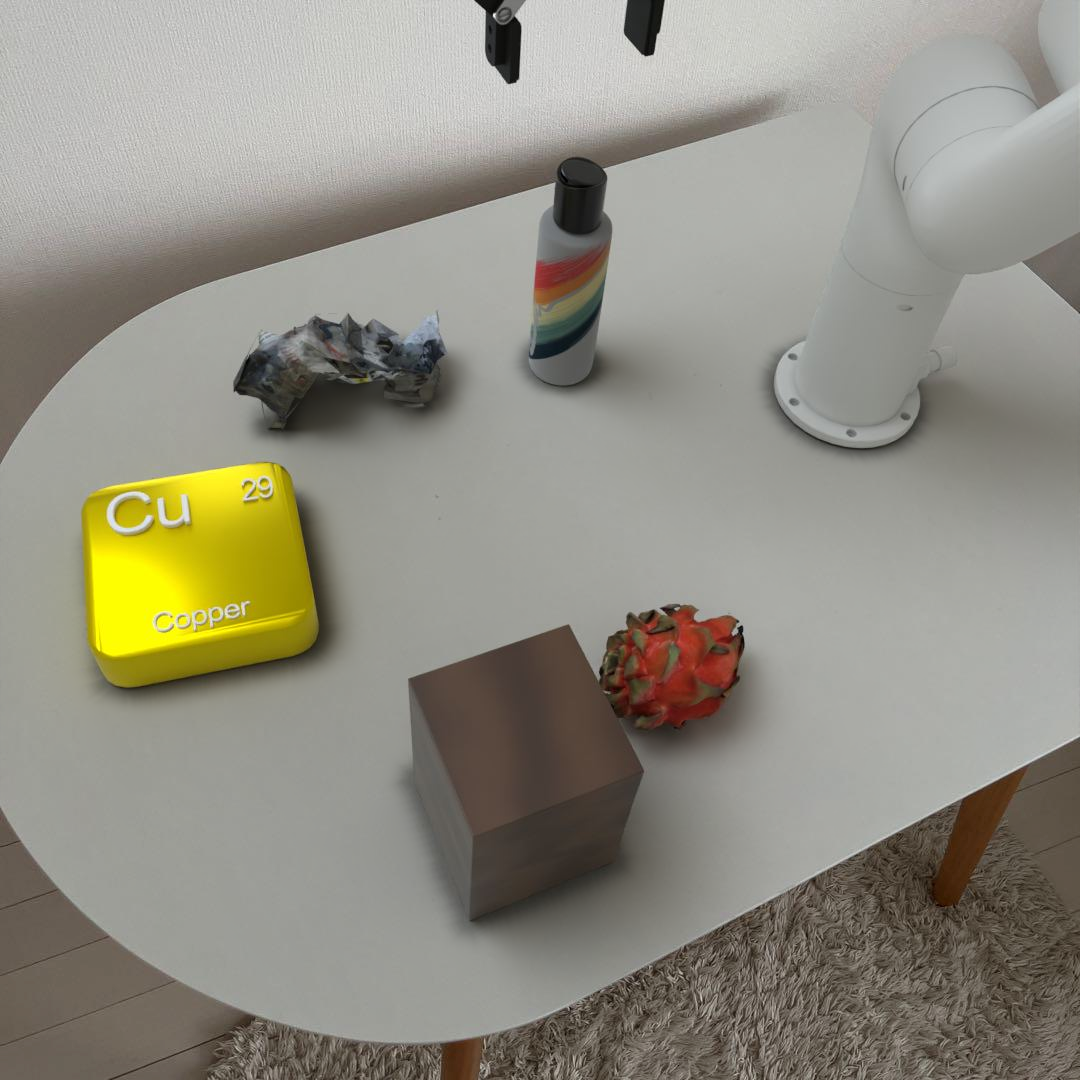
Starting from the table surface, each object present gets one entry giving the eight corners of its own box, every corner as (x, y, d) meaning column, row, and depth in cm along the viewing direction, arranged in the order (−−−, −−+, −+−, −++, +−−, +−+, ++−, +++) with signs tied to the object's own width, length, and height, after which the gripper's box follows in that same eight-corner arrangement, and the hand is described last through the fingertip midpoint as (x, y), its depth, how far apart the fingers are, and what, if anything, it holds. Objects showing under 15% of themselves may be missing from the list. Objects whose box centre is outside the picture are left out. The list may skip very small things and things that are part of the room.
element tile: (103, 696, 76) (85, 661, 72) (94, 524, 84) (77, 484, 80) (324, 652, 79) (317, 616, 75) (293, 490, 87) (286, 451, 83)
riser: (551, 730, 77) (569, 623, 65) (614, 861, 71) (644, 770, 60) (413, 780, 74) (407, 678, 62) (468, 921, 69) (472, 837, 57)
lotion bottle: (517, 349, 98) (531, 153, 82) (576, 334, 100) (601, 139, 84) (543, 394, 95) (563, 199, 79) (603, 378, 97) (634, 184, 81)
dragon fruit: (576, 729, 78) (710, 675, 84) (647, 777, 71) (788, 713, 77) (561, 619, 76) (700, 570, 81) (633, 657, 69) (780, 600, 74)
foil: (443, 430, 88) (272, 334, 81) (377, 486, 95) (215, 403, 89) (469, 324, 94) (312, 227, 88) (405, 385, 102) (256, 300, 95)
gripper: (474, -199, 54) (471, 116, 68) (776, -236, 59) (716, 65, 73) (418, -258, 58) (426, 52, 72) (707, -288, 63) (662, 7, 77)
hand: (572, 58), depth 72 cm, fingers open, 9 cm apart
